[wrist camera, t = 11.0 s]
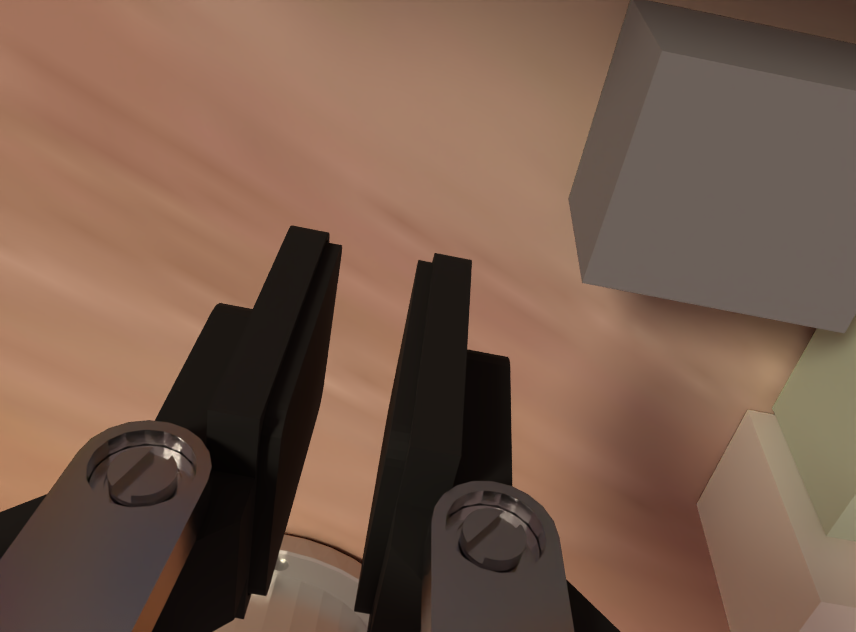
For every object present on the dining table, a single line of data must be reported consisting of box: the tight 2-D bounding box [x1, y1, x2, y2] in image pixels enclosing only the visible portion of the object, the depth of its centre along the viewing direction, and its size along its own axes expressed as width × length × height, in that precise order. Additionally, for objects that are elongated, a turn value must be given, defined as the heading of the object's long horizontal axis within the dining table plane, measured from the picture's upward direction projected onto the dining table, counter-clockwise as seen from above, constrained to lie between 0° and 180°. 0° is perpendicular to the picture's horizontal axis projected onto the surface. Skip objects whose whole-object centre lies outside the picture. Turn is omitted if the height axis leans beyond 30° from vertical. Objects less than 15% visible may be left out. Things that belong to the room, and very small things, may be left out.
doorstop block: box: [569, 0, 856, 333], centre depth 21 cm, size 6×7×5 cm
